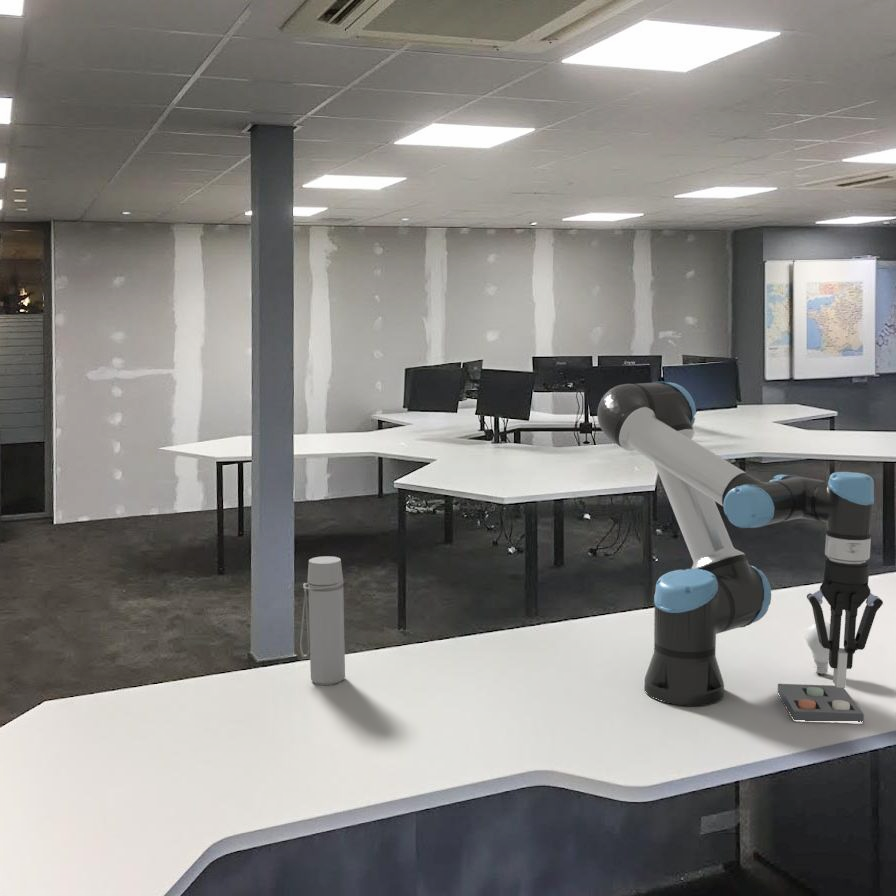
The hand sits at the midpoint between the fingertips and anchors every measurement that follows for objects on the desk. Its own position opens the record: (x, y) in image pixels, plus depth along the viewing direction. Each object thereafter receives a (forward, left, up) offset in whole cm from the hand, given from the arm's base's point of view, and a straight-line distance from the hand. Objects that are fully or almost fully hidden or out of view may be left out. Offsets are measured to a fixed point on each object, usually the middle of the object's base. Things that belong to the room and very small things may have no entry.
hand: (839, 684), depth 181 cm
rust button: (-6, 0, -5) cm, 8 cm away
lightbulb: (+2, +22, -6) cm, 23 cm away
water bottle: (-99, +9, -6) cm, 99 cm away
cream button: (0, 0, -5) cm, 5 cm away
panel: (-3, +3, -6) cm, 7 cm away
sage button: (-3, +6, -5) cm, 9 cm away
